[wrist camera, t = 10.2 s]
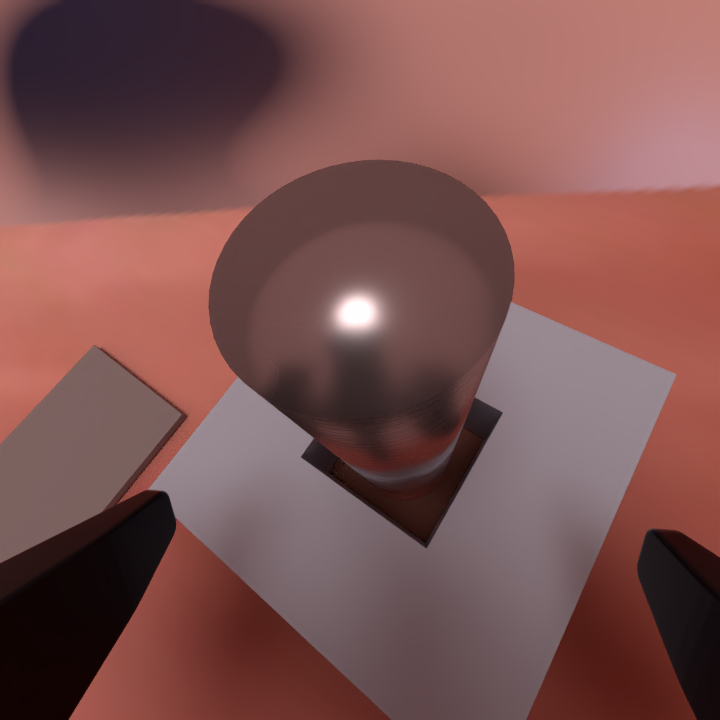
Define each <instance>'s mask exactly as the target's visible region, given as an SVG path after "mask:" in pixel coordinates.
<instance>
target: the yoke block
mask: <svg viewBox="0 0 720 720" xmlns="http://www.w3.org/2000/svg"><path fill="white" fill-rule="evenodd" d="M675 377H676V374H674V373H672V372H670V371H667V370H665V369H663V368H660V367H658V366H656V365H654V364H651V363H649V362H647V361H644V360H642V359H640V358H638V357H635V356H633V355H631V354H628V353H626V352H624V351H622V350H619V349H617V348H615V347H612V346H610V345H608V344H606V343H603V342H601V341H599V340H596V339H594V338H592V337H590V336H587V335H585V334H583V333H580V332H578V331H576V330H574V329H571V328H569V327H567V326H564V325H562V324H560V323H558V322H555V321H553V320H551V319H549V318H546V317H544V316H542V315H539V314H537V313H535V312H533V311H530V310H528V309H526V308H523V307H521V306H519V305H517V304H514V303H512V302H511V304H510V307H509V310H508V313H507V317H506V319H505V322H504V325H503V327H502V330H501V332H500V335H499V337H498V340H497V342H496V345H495V347H494V350H493V352H492V355H491V357H490V360H489V362H488V365H487V367H486V370H485V372H484V375H483V377H482V380H481V383H480V385H479V388H478V390H477V393H476V395H475V398H474V400H473V403H472V405H471V408H470V410H469V413H468V415H467V418H466V420H465V423H464V425H463V427H464V428H466V429H467V430H469V431H471V432H473V433H474V434H476V435H478V436H479V437H481V438H483V439H484V440H483V442H482V444H481V445H480V447H479V449H478V451H477V453H476V454H475V456H474V458H473V460H472V461H471V463H470V465H469V467H468V468H467V470H466V472H465V474H464V476H463V477H462V479H461V481H460V483H459V484H458V486H457V488H456V490H455V491H454V493H453V495H452V497H451V499H450V500H449V502H448V504H447V506H446V507H445V509H444V511H443V513H442V514H441V516H440V518H439V520H438V522H437V523H436V525H435V527H434V529H433V530H432V532H431V534H430V536H429V538H428V539H427V541H426V543H425V542H424V541H422V540H421V539H420V538H418V537H417V536H416V535H414V534H413V533H411V532H410V531H409V530H407V529H406V528H404V527H403V526H402V525H400V524H399V523H398V522H396V521H395V520H393V519H392V518H391V517H389V516H388V515H386V514H385V513H384V512H382V511H381V510H380V509H378V508H377V507H375V506H374V505H373V504H371V503H370V502H369V501H367V500H366V499H364V498H363V497H362V496H360V495H359V494H357V493H356V492H355V491H353V490H352V489H351V488H349V487H348V486H346V485H345V484H344V483H342V482H341V481H339V480H338V479H337V478H335V477H334V476H333V475H331V474H330V473H329V472H330V470H331V469H332V467H333V466H334V464H335V463H336V461H337V460H338V457H337V456H336V455H335V454H333V453H332V452H331V451H330V450H328V449H327V448H326V447H325V446H323V445H322V444H321V443H319V442H318V441H317V440H316V439H314V438H313V437H312V436H311V435H309V434H308V433H307V432H306V431H304V430H303V429H302V428H300V427H299V426H298V425H297V424H295V423H294V422H293V421H292V420H290V419H289V418H288V417H287V416H285V415H284V414H283V413H281V412H280V411H279V410H278V409H276V408H275V407H274V406H273V405H271V404H270V403H269V402H268V401H266V400H265V399H264V398H262V397H261V396H260V395H259V394H257V393H256V392H255V391H254V390H252V389H251V388H250V387H249V386H247V385H246V384H245V383H244V382H243V381H242V380H241V379H240V378H239V377H238V378H237V379H236V380H235V382H234V383H233V384H232V385H231V387H230V388H229V389H228V390H227V392H226V393H225V394H224V395H223V397H222V398H221V399H220V400H219V402H218V403H217V404H216V405H215V407H214V408H213V409H212V410H211V412H210V413H209V414H208V415H207V417H206V418H205V419H204V420H203V422H202V423H201V424H200V425H199V427H198V428H197V429H196V430H195V432H194V433H193V434H192V435H191V437H190V438H189V439H188V440H187V442H186V443H185V444H184V445H183V447H182V448H181V449H180V450H179V452H178V453H177V454H176V455H175V457H174V458H173V459H172V460H171V462H170V463H169V464H168V466H167V467H166V468H165V469H164V471H163V472H162V473H161V474H160V476H159V477H158V478H157V479H156V481H155V482H154V483H153V484H152V486H151V487H150V488H149V489H148V490H159V491H165V492H166V493H167V494H168V495H169V497H170V501H171V504H172V508H173V511H174V515H175V517H176V518H177V519H178V520H179V521H180V522H181V523H182V524H183V525H184V526H185V527H186V528H187V529H188V530H189V531H191V532H192V533H193V534H194V535H195V536H196V537H197V538H198V539H199V540H200V541H201V542H202V543H203V544H204V545H205V546H207V547H208V548H209V549H210V550H211V551H212V552H213V553H214V554H215V555H216V556H217V557H218V558H219V559H220V560H221V561H223V562H224V563H225V564H226V565H227V566H228V567H229V568H230V569H231V570H232V571H233V572H234V573H235V574H236V575H237V576H239V577H240V578H241V579H242V580H243V581H244V582H245V583H246V584H247V585H248V586H249V587H250V588H251V589H252V590H253V591H254V592H256V593H257V594H258V595H259V596H260V597H261V598H262V599H263V600H264V601H265V602H266V603H267V604H268V605H269V606H270V607H272V608H273V609H274V610H275V611H276V612H277V613H278V614H279V615H280V616H281V617H282V618H283V619H284V620H285V621H286V622H288V623H289V624H290V625H291V626H292V627H293V628H294V629H295V630H296V631H297V632H298V633H299V634H300V635H301V636H302V637H304V638H305V639H306V640H307V641H308V642H309V643H310V644H311V645H312V646H313V647H314V648H315V649H316V650H317V651H318V652H319V653H321V654H322V655H323V656H324V657H325V658H326V659H327V660H328V661H329V662H330V663H331V664H332V665H333V666H334V667H335V668H337V669H338V670H339V671H340V672H341V673H342V674H343V675H344V676H345V677H346V678H347V679H348V680H349V681H350V682H351V683H353V684H354V685H355V686H356V687H357V688H358V689H359V690H360V691H361V692H362V693H363V694H364V695H365V696H366V697H367V698H369V699H370V700H371V701H372V702H373V703H374V704H375V705H376V706H377V707H378V708H379V709H380V710H381V711H382V712H383V713H384V714H386V715H387V716H388V717H389V718H390V719H391V720H526V719H527V717H528V715H529V712H530V710H531V708H532V705H533V703H534V701H535V698H536V696H537V694H538V692H539V689H540V687H541V685H542V682H543V680H544V678H545V675H546V673H547V671H548V669H549V666H550V664H551V662H552V659H553V657H554V655H555V652H556V650H557V648H558V646H559V643H560V641H561V639H562V636H563V634H564V632H565V629H566V627H567V625H568V623H569V620H570V618H571V616H572V613H573V611H574V609H575V606H576V604H577V602H578V600H579V597H580V595H581V593H582V590H583V588H584V586H585V584H586V581H587V579H588V577H589V574H590V572H591V570H592V567H593V565H594V563H595V561H596V558H597V556H598V554H599V551H600V549H601V547H602V544H603V542H604V540H605V538H606V535H607V533H608V531H609V528H610V526H611V524H612V521H613V519H614V517H615V515H616V512H617V510H618V508H619V505H620V503H621V501H622V498H623V496H624V494H625V492H626V489H627V487H628V485H629V482H630V480H631V478H632V475H633V473H634V471H635V469H636V466H637V464H638V462H639V459H640V457H641V455H642V452H643V450H644V448H645V446H646V443H647V441H648V439H649V436H650V434H651V432H652V429H653V427H654V425H655V423H656V420H657V418H658V416H659V413H660V411H661V409H662V406H663V404H664V402H665V400H666V397H667V395H668V393H669V390H670V388H671V386H672V383H673V381H674V379H675Z"/></svg>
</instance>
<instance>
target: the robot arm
mask: <svg viewBox="0 0 720 720" xmlns="http://www.w3.org/2000/svg"><path fill="white" fill-rule="evenodd" d="M175 530H176V519H175V515H174V511H173V508H172V504H171V501H170V497H169V495H168V494H167V493H166V492H165V491H159V490H145V491H143V492H141V493H139V494H137V495H135V496H133V497H131V498H129V499H127V500H125V501H123V502H121V503H119V504H117V505H115V506H113V507H111V508H109V509H107V510H105V511H103V512H101V513H99V514H97V515H95V516H93V517H91V518H89V519H87V520H85V521H83V522H81V523H79V524H77V525H75V526H73V527H71V528H69V529H67V530H65V531H63V532H61V533H59V534H57V535H55V536H53V537H51V538H49V539H47V540H45V541H43V542H41V543H39V544H37V545H35V546H33V547H31V548H29V549H27V550H25V551H23V552H21V553H19V554H17V555H15V556H13V557H11V558H9V559H7V560H5V561H3V562H1V563H0V720H69V718H70V717H71V715H72V713H73V712H74V710H75V708H76V707H77V705H78V704H79V702H80V700H81V699H82V697H83V695H84V694H85V692H86V690H87V689H88V687H89V686H90V684H91V682H92V681H93V679H94V677H95V676H96V674H97V672H98V671H99V669H100V668H101V666H102V664H103V663H104V661H105V659H106V658H107V656H108V655H109V653H110V651H111V650H112V648H113V646H114V645H115V643H116V641H117V640H118V638H119V637H120V635H121V633H122V632H123V630H124V628H125V627H126V625H127V624H128V622H129V620H130V618H131V617H132V615H133V613H134V612H135V610H136V608H137V606H138V604H139V602H140V601H141V599H142V597H143V595H144V593H145V591H146V589H147V587H148V585H149V583H150V581H151V579H152V577H153V575H154V573H155V571H156V569H157V567H158V565H159V563H160V561H161V559H162V557H163V555H164V553H165V551H166V549H167V547H168V545H169V543H170V541H171V539H172V537H173V535H174V533H175ZM637 571H638V577H639V580H640V583H641V585H642V588H643V591H644V593H645V596H646V598H647V601H648V603H649V606H650V609H651V611H652V614H653V616H654V619H655V622H656V624H657V627H658V629H659V632H660V635H661V637H662V640H663V642H664V645H665V648H666V650H667V653H668V655H669V658H670V661H671V663H672V666H673V668H674V671H675V673H676V675H677V678H678V680H679V683H680V685H681V687H682V689H683V691H684V694H685V696H686V698H687V700H688V702H689V704H690V706H691V708H692V710H693V712H694V714H695V716H696V719H697V720H720V557H718V556H717V555H715V554H714V553H712V552H711V551H709V550H707V549H706V548H704V547H703V546H701V545H700V544H698V543H697V542H695V541H694V540H692V539H691V538H689V537H688V536H686V535H684V534H683V533H681V532H679V531H676V530H667V529H650V530H648V531H647V533H646V535H645V538H644V542H643V545H642V549H641V553H640V556H639V560H638V564H637Z"/></svg>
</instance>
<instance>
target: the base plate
mask: <svg viewBox="0 0 720 720" xmlns="http://www.w3.org/2000/svg"><path fill="white" fill-rule="evenodd" d="M186 417H187V416H185V415H184V414H183V413H182V412H180V411H179V410H178V409H177V408H175V407H174V406H173V405H171V404H170V403H169V402H168V401H166V400H165V399H164V398H163V397H161V396H160V395H159V394H157V393H156V392H155V391H154V390H152V389H151V388H150V387H149V386H147V385H146V384H145V383H143V382H142V381H141V380H140V379H138V378H137V377H136V376H135V375H133V374H132V373H131V372H129V371H128V370H127V369H126V368H124V367H123V366H122V365H121V364H119V363H118V362H117V361H116V360H114V359H113V358H112V357H110V356H109V355H108V354H107V353H105V352H104V351H103V350H102V349H100V348H99V347H97V346H95V345H94V346H93V347H92V348H91V349H90V350H89V351H88V352H87V353H86V354H85V355H84V356H83V357H82V358H81V359H80V361H79V362H78V363H77V364H76V365H75V366H74V367H73V368H72V369H71V370H70V371H69V372H68V373H67V374H66V375H65V376H64V377H63V379H62V380H61V381H60V382H59V383H58V384H57V385H56V386H55V387H54V388H53V389H52V390H51V391H50V392H49V393H48V394H47V396H46V397H45V398H44V399H43V400H42V401H41V402H40V403H39V404H38V405H37V406H36V407H35V408H34V409H33V410H32V411H31V412H30V414H29V415H28V416H27V417H26V418H25V419H24V420H23V421H22V422H21V423H20V424H19V425H18V426H17V427H16V428H15V429H14V431H13V432H12V433H11V434H10V435H9V436H8V437H7V438H6V439H5V440H4V441H3V442H2V443H1V444H0V563H1V562H3V561H5V560H7V559H9V558H11V557H13V556H15V555H17V554H19V553H21V552H23V551H25V550H27V549H29V548H31V547H33V546H35V545H37V544H39V543H41V542H43V541H45V540H47V539H49V538H51V537H53V536H55V535H57V534H59V533H61V532H63V531H65V530H67V529H69V528H71V527H73V526H75V525H77V524H79V523H81V522H83V521H85V520H87V519H89V518H91V517H93V516H95V515H97V514H99V513H101V512H103V511H105V510H107V509H109V508H111V507H113V506H115V504H116V503H117V502H118V501H119V499H120V498H121V497H122V496H123V494H124V493H125V492H126V491H127V490H128V488H129V487H130V486H131V485H132V483H133V482H134V481H135V480H136V479H137V477H138V476H139V475H140V474H141V472H142V471H143V470H144V469H145V467H146V466H147V465H148V464H149V463H150V461H151V460H152V459H153V458H154V456H155V455H156V454H157V453H158V451H159V450H160V449H161V448H162V447H163V445H164V444H165V443H166V442H167V440H168V439H169V438H170V437H171V436H172V434H173V433H174V432H175V431H176V429H177V428H178V427H179V426H180V424H181V423H182V422H183V421H184V420H185V418H186Z"/></svg>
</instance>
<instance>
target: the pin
mask: <svg viewBox="0 0 720 720" xmlns="http://www.w3.org/2000/svg"><path fill="white" fill-rule="evenodd" d="M513 288H514V261H513V256H512V251H511V246H510V243H509V240H508V238H507V235H506V232H505V230H504V228H503V226H502V225H501V223H500V221H499V219H498V218H497V216H496V215H495V213H494V212H493V211H492V210H491V208H490V207H489V206H488V205H487V203H486V202H485V201H484V200H483V199H482V198H480V197H479V196H478V195H477V194H476V193H475V192H474V191H473V190H471V189H470V188H468V187H467V186H466V185H464V184H463V183H461V182H460V181H458V180H456V179H454V178H452V177H451V176H449V175H447V174H445V173H442V172H440V171H437V170H434V169H432V168H428V167H425V166H421V165H417V164H414V163H408V162H401V161H391V160H367V161H366V160H365V161H356V162H349V163H343V164H339V165H334V166H330V167H327V168H324V169H321V170H318V171H315V172H312V173H309V174H307V175H305V176H303V177H300V178H298V179H296V180H294V181H292V182H290V183H288V184H287V185H285V186H283V187H282V188H280V189H278V190H277V191H275V192H274V193H273V194H271V195H270V196H268V197H267V198H266V199H264V200H263V201H262V202H261V203H259V204H258V205H257V206H256V207H255V208H254V209H253V210H252V211H251V212H250V213H249V214H248V215H247V216H246V217H245V218H244V219H243V220H242V221H241V223H240V224H239V225H238V226H237V228H236V229H235V230H234V231H233V233H232V234H231V236H230V237H229V239H228V241H227V242H226V244H225V245H224V247H223V250H222V252H221V254H220V256H219V258H218V260H217V263H216V266H215V269H214V272H213V275H212V280H211V285H210V290H209V315H210V324H211V327H212V331H213V335H214V339H215V341H216V343H217V346H218V348H219V350H220V352H221V354H222V356H223V357H224V359H225V361H226V362H227V364H228V365H229V367H230V368H231V369H232V371H233V372H234V373H235V374H236V375H237V376H238V377H239V378H240V379H241V380H242V381H243V382H244V383H245V384H246V385H247V386H249V387H250V388H251V389H252V390H254V391H255V392H256V393H257V394H259V395H260V396H261V397H262V398H264V399H265V400H266V401H268V402H269V403H270V404H271V405H273V406H274V407H275V408H276V409H278V410H279V411H280V412H281V413H283V414H284V415H285V416H287V417H288V418H289V419H290V420H292V421H293V422H294V423H295V424H297V425H298V426H299V427H300V428H302V429H303V430H304V431H306V432H307V433H308V434H309V435H311V436H312V437H313V438H314V439H316V440H317V441H318V442H319V443H321V444H322V445H323V446H325V447H326V448H327V449H328V450H330V451H331V452H332V453H333V454H335V455H336V456H337V457H338V458H340V459H341V460H342V461H344V462H345V463H346V464H347V465H349V466H350V467H351V468H352V469H354V470H355V471H356V472H357V473H359V474H360V475H361V476H363V477H364V478H365V479H366V480H368V481H369V482H370V483H371V484H373V485H374V486H375V487H376V488H378V489H379V490H380V491H382V492H383V493H385V494H386V495H388V496H390V497H393V498H396V499H402V500H411V499H416V498H420V497H422V496H424V495H426V494H428V493H430V492H431V491H432V490H433V489H434V488H435V487H436V486H437V485H438V484H439V483H440V481H441V480H442V478H443V475H444V473H445V471H446V468H447V466H448V463H449V461H450V458H451V456H452V453H453V451H454V448H455V446H456V443H457V440H458V438H459V435H460V433H461V430H462V428H463V425H464V423H465V420H466V418H467V415H468V413H469V410H470V408H471V405H472V403H473V400H474V398H475V395H476V393H477V390H478V388H479V385H480V383H481V380H482V377H483V375H484V372H485V370H486V367H487V365H488V362H489V360H490V357H491V355H492V352H493V350H494V347H495V345H496V342H497V340H498V337H499V335H500V332H501V330H502V327H503V325H504V322H505V319H506V317H507V313H508V310H509V307H510V304H511V301H512V295H513Z"/></svg>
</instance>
